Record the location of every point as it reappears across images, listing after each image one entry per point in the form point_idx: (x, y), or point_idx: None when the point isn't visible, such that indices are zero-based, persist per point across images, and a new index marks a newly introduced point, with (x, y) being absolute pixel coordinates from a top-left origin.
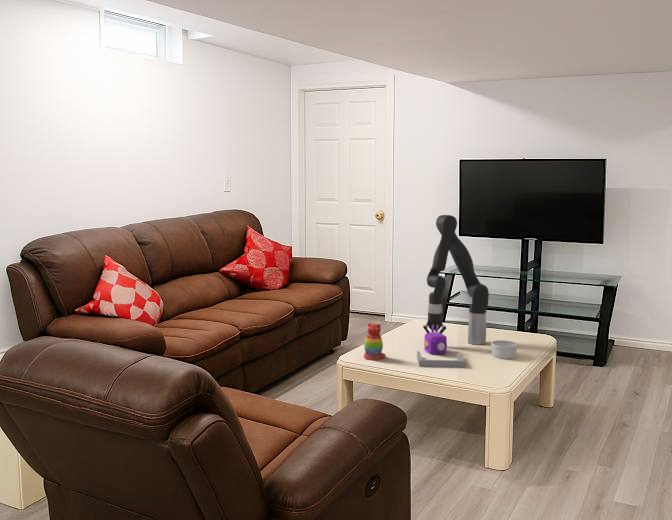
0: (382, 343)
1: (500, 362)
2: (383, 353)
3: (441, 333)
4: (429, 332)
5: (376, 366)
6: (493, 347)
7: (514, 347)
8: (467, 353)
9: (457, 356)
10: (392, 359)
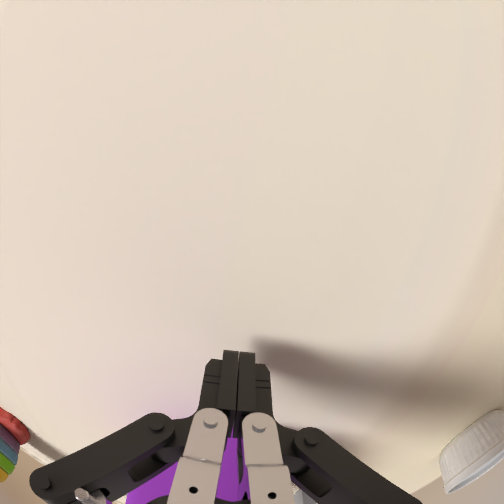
0: (9, 470)
1: (412, 478)
2: (17, 434)
3: (320, 477)
4: (154, 475)
5: (47, 464)
6: (447, 480)
7: (480, 472)
8: (384, 449)
9: (300, 496)
10: (55, 451)
